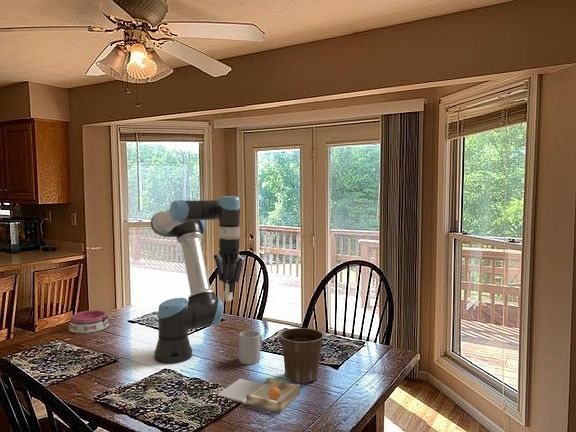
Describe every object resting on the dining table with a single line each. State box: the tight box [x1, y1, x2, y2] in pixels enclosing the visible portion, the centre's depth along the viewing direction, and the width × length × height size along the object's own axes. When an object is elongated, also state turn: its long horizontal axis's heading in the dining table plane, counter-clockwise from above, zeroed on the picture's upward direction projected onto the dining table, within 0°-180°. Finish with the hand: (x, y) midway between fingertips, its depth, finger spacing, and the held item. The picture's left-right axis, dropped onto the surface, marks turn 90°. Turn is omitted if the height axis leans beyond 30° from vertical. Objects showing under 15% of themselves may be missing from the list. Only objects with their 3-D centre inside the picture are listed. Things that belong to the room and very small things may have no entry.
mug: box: [238, 330, 263, 365], centre depth 182 cm, size 12×8×11 cm
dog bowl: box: [68, 309, 110, 335], centre depth 220 cm, size 18×19×7 cm
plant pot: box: [279, 327, 325, 384], centre depth 165 cm, size 16×16×16 cm
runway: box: [216, 378, 301, 414], centre depth 151 cm, size 24×14×1 cm, turn 63°
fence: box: [246, 378, 301, 413], centre depth 148 cm, size 12×14×4 cm
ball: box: [268, 387, 281, 400], centre depth 147 cm, size 4×4×4 cm
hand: (228, 300), depth 167 cm, fingers closed
